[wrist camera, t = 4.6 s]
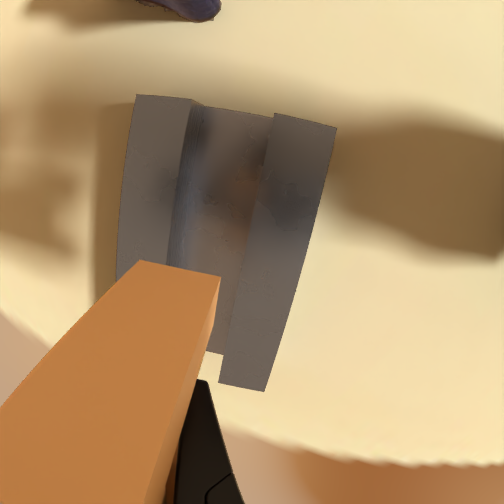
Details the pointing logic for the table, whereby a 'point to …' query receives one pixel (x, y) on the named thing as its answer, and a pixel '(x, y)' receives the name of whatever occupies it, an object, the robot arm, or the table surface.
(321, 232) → the table surface
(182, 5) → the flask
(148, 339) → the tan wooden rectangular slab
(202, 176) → the rail
